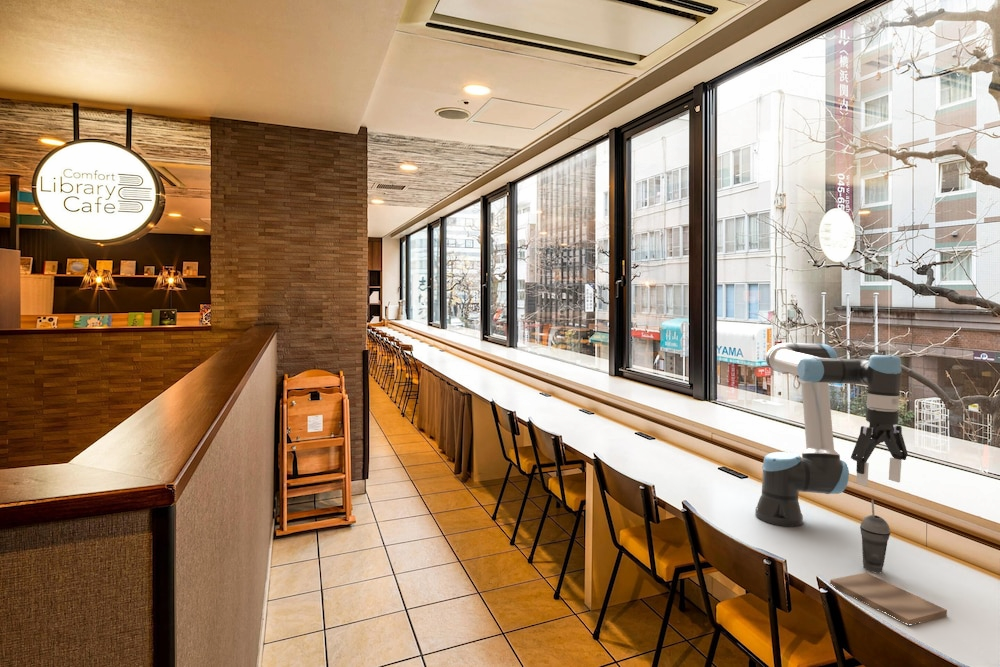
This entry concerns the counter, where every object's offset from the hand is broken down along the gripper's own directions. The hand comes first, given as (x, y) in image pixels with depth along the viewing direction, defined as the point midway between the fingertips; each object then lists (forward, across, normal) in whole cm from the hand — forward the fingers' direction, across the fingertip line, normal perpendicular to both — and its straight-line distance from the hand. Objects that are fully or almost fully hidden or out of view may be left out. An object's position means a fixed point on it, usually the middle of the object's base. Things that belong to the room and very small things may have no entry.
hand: (878, 483), depth 155 cm
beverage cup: (+26, 0, 0) cm, 26 cm away
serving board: (+25, -14, -13) cm, 32 cm away
